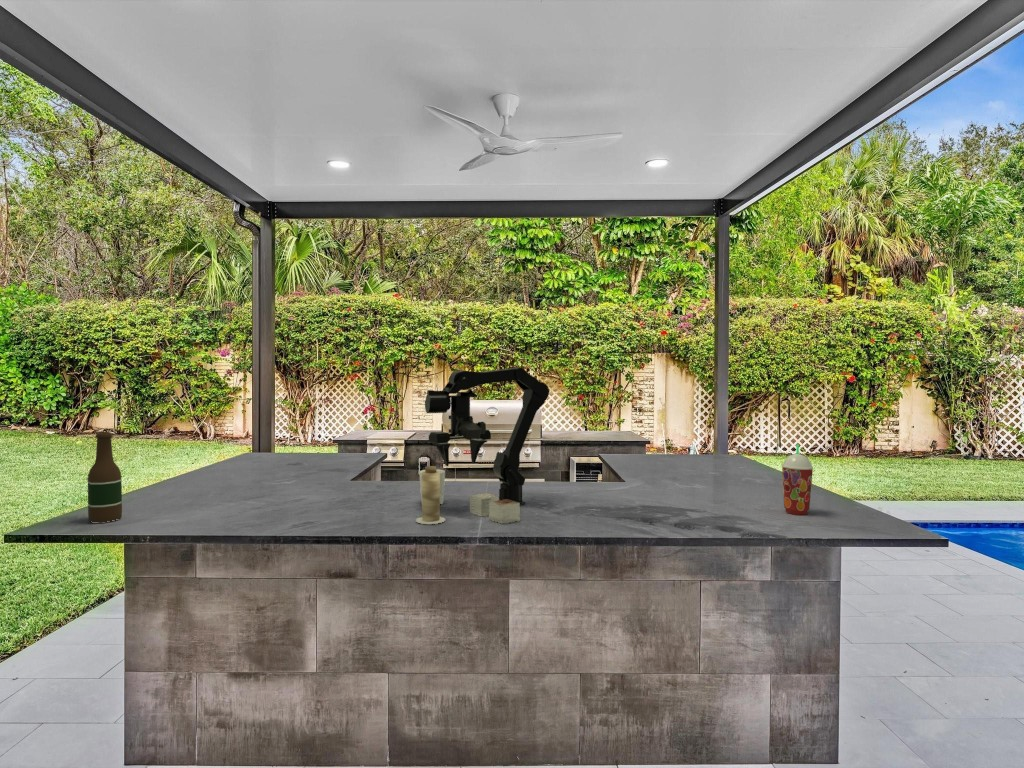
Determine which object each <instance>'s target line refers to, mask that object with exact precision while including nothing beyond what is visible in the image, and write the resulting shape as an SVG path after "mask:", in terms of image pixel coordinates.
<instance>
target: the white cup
mask: <svg viewBox="0 0 1024 768" xmlns="http://www.w3.org/2000/svg"><path fill="white" fill-rule="evenodd" d="M424 471H425V469H422V470H420V471H418V472H419V490H420V503H421V504H422V472H424ZM436 471H438V472H440V504H441V505H443V504H444V495H445V487H446V486H445V482H446V481H445V480H446V470H444V469H437V468H436Z"/></svg>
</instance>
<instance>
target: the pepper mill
mask: <svg viewBox="0 0 1024 768" xmlns="http://www.w3.org/2000/svg"><path fill="white" fill-rule="evenodd" d="M424 468H425V469H424V470H425V471H424V472H422V503H421V517H422V520H423V521H426V522H434V521H438V520H440V517H441V516H440V515H441V511H440V510H441V507H440V506H441V505H440V472H438V471H436V469H437V466H436V465H428V466H425V467H424Z"/></svg>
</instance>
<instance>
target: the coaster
mask: <svg viewBox="0 0 1024 768" xmlns="http://www.w3.org/2000/svg"><path fill="white" fill-rule="evenodd" d="M444 521H445V522H446V518H444V517H443V516H440V520H438V521H434V522H426V521H423V520H422V516H421V517H418V518H416V519H415V523H416V522H418V523H421V524H420V525H423V524H435V525H439V524H438V523H441V524H443V523H442V522H444ZM445 522H444V523H445ZM418 523H417V524H418Z"/></svg>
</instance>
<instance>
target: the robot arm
mask: <svg viewBox="0 0 1024 768" xmlns="http://www.w3.org/2000/svg"><path fill="white" fill-rule="evenodd" d="M512 381H514V382H515V383H516V384H517V386H518V387H519V388H520V389H522V391H523V392H522V393H523V394H522V406H521V407H522V408H521V410H520V413H519V415H518V417H517V420H516V422H515V424H514V427H513V430H512V432H511V435H510V437H509V440H508V443H507V445H506V448H505V449H504V450H503V451H502V452H499V451H497V452H496V455H495V459H494V461H493V462H492V463H491V464H492V465H493V467H492V470H493V473H494V475H495V476H496V477H498V478H497V479H498V480H499V482H500V484H499V489H498V497H499V500H504V499H508V500H512V501H515V502H518V503H520V505H523V504H526V501H524V500H523V486H524V485H525V481H526V478H525V477H524V476H523V475H522V474H521V473H520V472H519V470H520V464H521V461H520V460H521V457H520V456H521V452H522V449H523V447H524V445H525V441H526V439H527V437H528V435H529V432H530V429H531V427H532V424H533V421H534V419H535V417H536V414H537V412H538V411H539V410H540V408H541V407H543V405H544V404H545V402H546V400H547V399H548V397H549V395H550V389H549V386H548V384H546V383H545V382H543V381H540V380H538V378H536V377H534V376H533V375H532V374H530V373H529V372H527V371H526V370H525V369H524V367H523V368H522V367H517V366H516V367H512V368H506V369H505V368H504V369H503V368H502V369H496V370H487V371H486V370H485V371H471V370H455V371H452V372H451V374H450V375H449V378H448V382H447V383H446V385H445V386H444V387H443V389H442V390H433V389H428V390H427V391H426V396H425V400H424V409H425V410H424V411H425V413H426V414H446V413H447V412H448V411H449V410H450V415H448V420H450V428H449V429H448V432H445V431H431V432H430V433H429V434H428V443H432V445H435V446H436V448H437V450H438V452H439V454H440V456H441V458H442V460H443V463H444V465H445V467H449V466H450V465H449V463H450V461H449V460H450V451H449V450H450V446H451V443H449V442H450V441H451V440H461V439H463V440H464V439H465V440H468V441H469V448H470V459H471V464H475V463H476V460H477V458H478V455H479V453H480V450H481V448H482V446H483V445H484V444H485V443H487V442H488V440H491V439H492V433H491V431H490V430H489V429H487V425H486V422H485V421H478V422H474V418H473V416H472V415H471V398H477V397H478V395H477V394H476V393H475V392H474V391H473V389H474V388H477V387H479V386H481V385H486V384H495V383H502V382H512ZM466 390H467V391H466ZM450 394H451V395H450ZM452 394H453V395H452ZM455 394H456V395H455Z"/></svg>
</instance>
